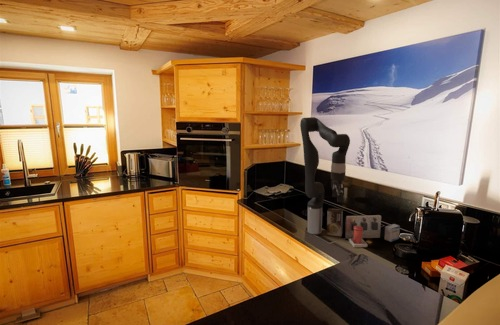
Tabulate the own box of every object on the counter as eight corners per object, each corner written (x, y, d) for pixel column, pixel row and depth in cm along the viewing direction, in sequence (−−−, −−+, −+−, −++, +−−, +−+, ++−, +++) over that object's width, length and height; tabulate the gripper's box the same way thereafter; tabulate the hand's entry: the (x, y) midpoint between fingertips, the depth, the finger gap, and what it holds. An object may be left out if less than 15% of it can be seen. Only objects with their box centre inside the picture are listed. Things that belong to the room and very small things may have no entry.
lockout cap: (351, 241, 159) (352, 225, 157) (359, 241, 159) (360, 225, 157) (354, 245, 154) (355, 229, 152) (363, 245, 154) (364, 229, 152)
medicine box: (390, 242, 158) (391, 228, 156) (384, 239, 162) (385, 226, 160) (399, 239, 161) (400, 225, 160) (392, 236, 165) (393, 223, 164)
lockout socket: (348, 241, 160) (349, 238, 160) (361, 240, 160) (361, 238, 160) (354, 247, 153) (354, 244, 152) (367, 247, 153) (367, 244, 152)
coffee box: (342, 232, 172) (343, 209, 169) (341, 236, 166) (342, 212, 164) (327, 230, 176) (328, 207, 173) (326, 234, 170) (327, 210, 168)
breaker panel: (345, 237, 166) (346, 216, 163) (378, 236, 166) (379, 215, 164) (347, 240, 162) (348, 218, 159) (381, 239, 162) (383, 217, 160)
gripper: (327, 168, 151) (326, 195, 153) (335, 173, 137) (334, 203, 139) (340, 168, 151) (339, 195, 153) (350, 173, 137) (348, 203, 139)
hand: (336, 199), depth 146 cm, fingers open, 8 cm apart
